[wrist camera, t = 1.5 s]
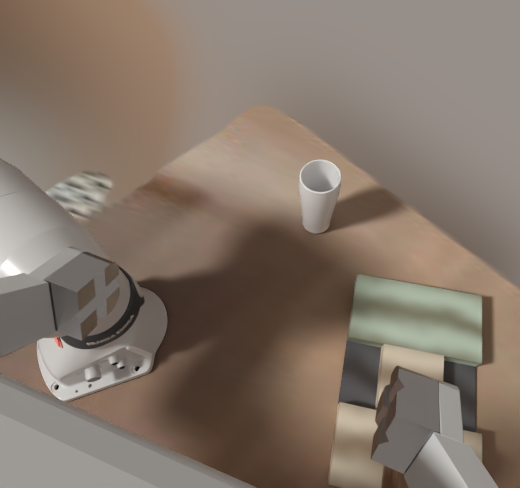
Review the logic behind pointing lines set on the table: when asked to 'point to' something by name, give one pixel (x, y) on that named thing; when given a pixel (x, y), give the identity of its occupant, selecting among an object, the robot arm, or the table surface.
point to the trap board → (401, 363)
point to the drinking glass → (318, 194)
